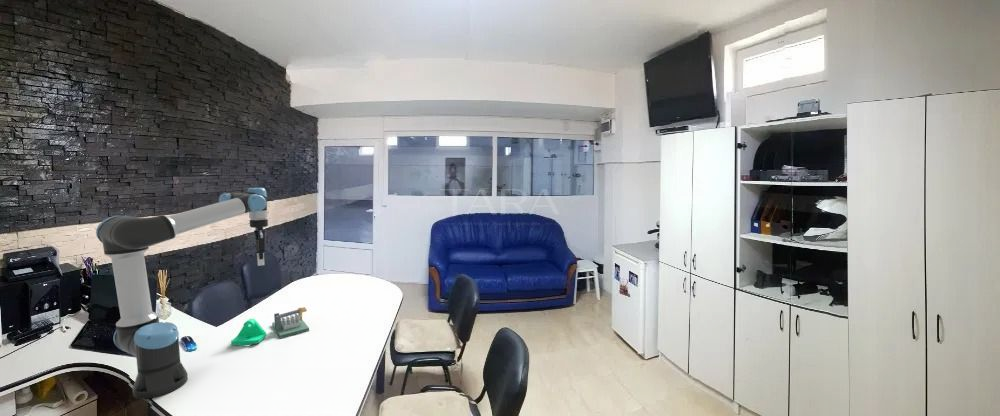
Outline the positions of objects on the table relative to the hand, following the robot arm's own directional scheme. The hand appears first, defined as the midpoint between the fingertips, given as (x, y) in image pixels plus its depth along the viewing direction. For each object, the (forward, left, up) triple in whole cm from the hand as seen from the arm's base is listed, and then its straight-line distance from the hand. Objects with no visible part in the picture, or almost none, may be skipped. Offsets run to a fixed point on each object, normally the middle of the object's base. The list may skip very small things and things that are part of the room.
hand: (261, 265), depth 178 cm
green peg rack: (-6, -11, -34) cm, 36 cm away
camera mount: (-10, +8, -35) cm, 37 cm away
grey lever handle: (-5, -11, -27) cm, 30 cm away
